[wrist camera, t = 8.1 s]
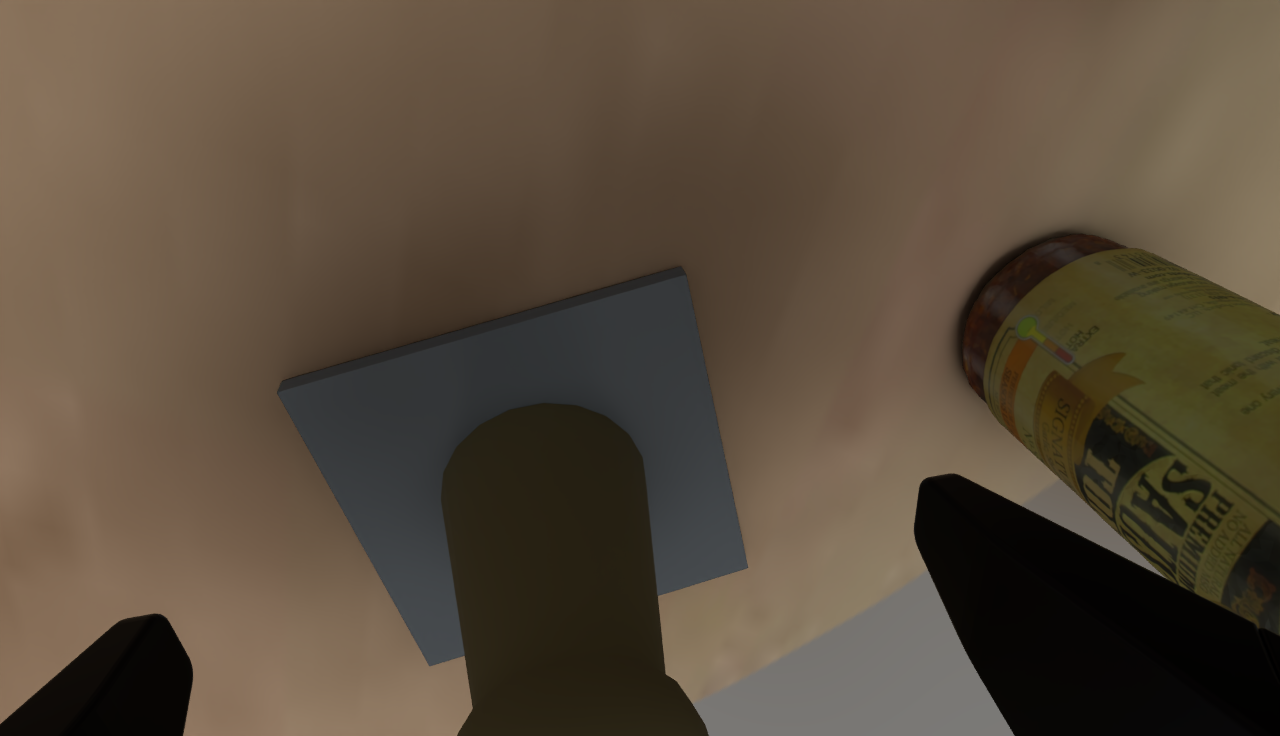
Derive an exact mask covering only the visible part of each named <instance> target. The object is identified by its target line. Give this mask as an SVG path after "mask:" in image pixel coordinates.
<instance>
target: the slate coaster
mask: <svg viewBox="0 0 1280 736" xmlns="http://www.w3.org/2000/svg"><path fill="white" fill-rule="evenodd" d="M277 394H278V395H279V397H280V399H281V401H282V403H283V404H284V406H285V408H286V410H287V412H288V413H289V415H290V417H291V419H292V421H293V422H294V424H295V426H296V428H297V429H298V431H299V433H300V435H301V437H302V438H303V440H304V442H305V444H306V446H307V447H308V449H309V451H310V453H311V455H312V456H313V458H314V460H315V462H316V464H317V465H318V467H319V469H320V471H321V473H322V474H323V476H324V478H325V480H326V481H327V483H328V485H329V487H330V489H331V490H332V492H333V494H334V496H335V498H336V499H337V501H338V503H339V505H340V507H341V508H342V510H343V512H344V514H345V516H346V517H347V519H348V521H349V523H350V525H351V526H352V528H353V530H354V532H355V533H356V535H357V537H358V539H359V541H360V542H361V544H362V546H363V548H364V550H365V551H366V553H367V555H368V557H369V559H370V560H371V562H372V564H373V566H374V568H375V569H376V571H377V573H378V575H379V577H380V578H381V580H382V582H383V584H384V585H385V587H386V589H387V591H388V593H389V594H390V596H391V598H392V600H393V602H394V603H395V605H396V607H397V609H398V611H399V612H400V614H401V616H402V618H403V620H404V621H405V623H406V625H407V627H408V629H409V630H410V632H411V634H412V636H413V637H414V639H415V641H416V643H417V645H418V646H419V648H420V650H421V652H422V654H423V655H424V657H425V659H426V661H427V663H428V664H429V666H432V665H435V664H439V663H442V662H445V661H448V660H452V659H455V658H458V657H461V656H465V654H464V647H463V641H462V634H461V628H460V621H459V615H458V608H457V602H456V595H455V589H454V582H453V576H452V569H451V563H450V556H449V550H448V543H447V537H446V530H445V524H444V517H443V511H442V504H441V491H442V480H443V472H444V470H445V468H446V466H447V464H448V462H449V460H450V458H451V456H452V454H453V453H454V451H455V449H456V447H457V446H458V445H459V444H460V443H461V442H462V441H463V440H464V439H465V438H466V437H467V436H468V435H469V434H470V433H471V432H473V431H474V430H475V429H476V428H477V427H478V426H479V425H480V424H482V423H484V422H486V421H488V420H490V419H492V418H494V417H496V416H498V415H500V414H502V413H504V412H506V411H508V410H511V409H516V408H521V407H526V406H531V405H536V404H541V403H550V404H565V405H577V406H580V407H583V408H585V409H588V410H591V411H594V412H596V413H599V414H602V415H604V416H607V417H608V418H609V419H611V420H612V421H613V422H614V423H616V424H617V425H618V426H619V427H621V428H622V429H623V430H624V431H626V432H627V433H628V434H629V435H630V437H631V438H632V440H633V442H634V443H635V445H636V447H637V448H638V450H639V452H640V454H641V455H642V457H643V464H644V470H645V477H646V485H647V495H648V505H649V515H650V525H651V535H652V545H653V555H654V565H655V575H656V584H657V594H658V596H659V595H662V594H666V593H669V592H672V591H675V590H679V589H682V588H685V587H688V586H691V585H695V584H698V583H701V582H704V581H708V580H711V579H714V578H717V577H721V576H724V575H727V574H730V573H734V572H737V571H740V570H743V569H747V568H748V564H747V560H746V555H745V550H744V545H743V541H742V536H741V531H740V527H739V522H738V517H737V512H736V508H735V503H734V498H733V493H732V489H731V484H730V479H729V474H728V470H727V465H726V460H725V456H724V451H723V446H722V441H721V437H720V432H719V427H718V422H717V418H716V413H715V408H714V403H713V399H712V394H711V389H710V385H709V380H708V375H707V370H706V366H705V361H704V356H703V351H702V347H701V342H700V337H699V332H698V328H697V323H696V318H695V313H694V309H693V304H692V299H691V295H690V290H689V285H688V280H687V276H686V273H685V272H684V270H683V269H682V267H681V266H680V267H677V268H673V269H670V270H666V271H663V272H659V273H656V274H652V275H649V276H645V277H642V278H638V279H635V280H632V281H628V282H625V283H621V284H618V285H614V286H611V287H607V288H604V289H600V290H597V291H593V292H590V293H586V294H583V295H579V296H576V297H572V298H569V299H565V300H562V301H558V302H555V303H552V304H548V305H545V306H541V307H538V308H534V309H531V310H527V311H524V312H520V313H517V314H513V315H510V316H506V317H503V318H499V319H496V320H492V321H489V322H485V323H482V324H479V325H475V326H472V327H468V328H465V329H461V330H458V331H454V332H451V333H447V334H444V335H440V336H437V337H433V338H430V339H426V340H423V341H419V342H416V343H412V344H409V345H405V346H402V347H399V348H395V349H392V350H388V351H385V352H381V353H378V354H374V355H371V356H367V357H364V358H360V359H357V360H353V361H350V362H346V363H343V364H339V365H336V366H332V367H329V368H326V369H322V370H319V371H315V372H312V373H308V374H305V375H301V376H298V377H294V378H291V379H287V380H284V381H282V382H281V384H280V387H279V389H278V391H277Z"/></svg>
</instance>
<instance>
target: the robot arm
mask: <svg viewBox="0 0 1280 736" xmlns="http://www.w3.org/2000/svg"><path fill="white" fill-rule="evenodd" d="M914 535H915V540H916V544H917V547H918V549H919V551H920V553H921V556H922V558H923V560H924V562H925V564H926V567H927V569H928V571H929V573H930V575H931V578H932V580H933V582H934V584H935V586H936V589H937V591H938V593H939V595H940V597H941V599H942V602H943V604H944V606H945V608H946V611H947V613H948V615H949V617H950V619H951V621H952V624H953V626H954V628H955V630H956V632H957V635H958V637H959V639H960V641H961V643H962V645H963V647H964V649H965V651H966V653H967V655H968V657H969V659H970V660H971V662H972V664H973V665H974V668H975V669H976V671H977V673H978V674H979V676H980V678H981V680H982V681H983V683H984V685H985V686H986V688H987V690H988V691H989V693H990V695H991V697H992V698H993V700H994V702H995V703H996V705H997V707H998V708H999V710H1000V712H1001V713H1002V715H1003V717H1004V719H1005V720H1006V722H1007V724H1008V725H1009V727H1010V729H1011V730H1012V732H1013V734H1014V735H1015V736H1280V635H1278V634H1276V633H1274V632H1272V631H1270V630H1268V629H1266V628H1259V629H1258V628H1257V626H1256V624H1255V623H1253V622H1252V621H1250V620H1248V619H1246V618H1244V617H1242V616H1240V615H1238V614H1236V613H1234V612H1232V611H1230V610H1228V609H1226V608H1224V607H1222V606H1220V605H1218V604H1216V603H1214V602H1212V601H1210V600H1208V599H1206V598H1204V597H1202V596H1200V595H1198V594H1196V593H1194V592H1192V591H1190V590H1188V589H1186V588H1184V587H1182V586H1180V585H1178V584H1176V583H1174V582H1172V581H1170V580H1168V579H1166V578H1164V577H1162V576H1160V575H1158V574H1156V573H1154V572H1152V571H1150V570H1148V569H1146V568H1144V567H1142V566H1140V565H1138V564H1136V563H1134V562H1132V561H1130V560H1128V559H1126V558H1124V557H1122V556H1120V555H1118V554H1116V553H1114V552H1112V551H1110V550H1108V549H1106V548H1104V547H1102V546H1100V545H1098V544H1096V543H1094V542H1092V541H1090V540H1088V539H1086V538H1084V537H1082V536H1080V535H1078V534H1076V533H1074V532H1072V531H1070V530H1068V529H1066V528H1064V527H1062V526H1060V525H1058V524H1056V523H1054V522H1052V521H1050V520H1048V519H1046V518H1044V517H1042V516H1040V515H1038V514H1036V513H1034V512H1032V511H1030V510H1028V509H1026V508H1024V507H1022V506H1020V505H1018V504H1016V503H1014V502H1012V501H1010V500H1008V499H1006V498H1004V497H1002V496H1000V495H998V494H996V493H994V492H992V491H990V490H988V489H986V488H984V487H982V486H980V485H978V484H976V483H974V482H972V481H970V480H968V479H966V478H964V477H962V476H960V475H958V474H944V475H939V476H933V477H928V478H926V479H924V480H923V481H922V482H921V484H920V487H919V493H918V501H917V508H916V516H915V523H914ZM192 682H193V669H192V664H191V661H190V659H189V657H188V655H187V653H186V651H185V649H184V648H183V646H182V644H181V642H180V640H179V639H178V637H177V635H176V633H175V631H174V630H173V628H172V626H171V624H170V622H169V621H168V619H167V618H166V617H164V616H163V615H161V614H149V615H143V616H137V617H132V618H127V619H124V620H121V621H119V622H117V623H116V624H115V625H114V626H112V627H111V628H110V629H109V630H108V631H107V632H105V633H104V634H103V635H102V636H101V637H100V638H99V639H97V640H96V641H95V642H94V643H93V644H92V645H90V646H89V647H88V648H87V649H86V650H85V651H84V652H82V653H81V654H80V655H79V656H78V657H77V658H76V659H74V660H73V661H72V662H71V663H70V664H69V665H68V666H66V667H65V668H64V669H63V670H62V671H61V672H60V673H58V674H57V675H56V676H55V677H54V678H53V679H51V680H50V681H49V682H48V683H47V684H46V685H45V686H43V687H42V688H41V689H40V690H39V691H38V692H37V693H35V694H34V695H33V696H32V697H31V698H30V699H29V700H27V701H26V702H25V703H24V704H23V705H22V706H21V707H19V708H18V709H17V710H16V711H15V712H14V713H12V714H11V715H10V716H9V717H8V718H7V719H6V720H4V721H3V722H2V723H1V724H0V736H183V733H184V728H185V722H186V717H187V711H188V705H189V700H190V694H191V689H192Z"/></svg>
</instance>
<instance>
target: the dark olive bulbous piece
mask: <svg viewBox="0 0 1280 736" xmlns="http://www.w3.org/2000/svg"><path fill="white" fill-rule="evenodd" d="M441 504H442V511H443V517H444V524H445V530H446V537H447V543H448V550H449V556H450V563H451V569H452V576H453V582H454V589H455V595H456V602H457V608H458V615H459V621H460V628H461V634H462V641H463V647H464V654H465V660H466V667H467V673H468V680H469V686H470V693H471V699H472V706H473V710H472V712H471V713H470V715H469V716H468V718H467V720H466V721H465V723H464V724H463V726H462V728H461V729H460V731H459V733H458V735H457V736H709V735H708V732H707V729H706V726H705V724H704V722H703V720H702V719H701V717H700V716H699V714H698V712H697V711H696V709H695V707H694V706H693V704H692V703H691V701H690V700H689V698H688V697H687V695H686V694H685V693H684V691H683V690H682V688H681V687H680V686H679V684H678V683H677V681H675V680H674V679H672V678H671V677H669V676H667V675H666V674H665V664H664V654H663V644H662V634H661V624H660V614H659V604H658V594H657V584H656V575H655V565H654V555H653V545H652V535H651V525H650V515H649V505H648V495H647V485H646V477H645V470H644V464H643V457H642V455H641V454H640V452H639V450H638V448H637V447H636V445H635V443H634V442H633V440H632V438H631V437H630V435H629V434H628V433H627V432H626V431H624V430H623V429H622V428H621V427H619V426H618V425H617V424H616V423H614V422H613V421H612V420H611V419H609V418H608V417H607V416H604V415H602V414H599V413H596V412H594V411H591V410H588V409H585V408H583V407H580V406H577V405H565V404H550V403H541V404H536V405H531V406H526V407H521V408H516V409H511V410H508V411H506V412H504V413H502V414H500V415H498V416H496V417H494V418H492V419H490V420H488V421H486V422H484V423H482V424H480V425H479V426H478V427H477V428H476V429H475V430H474V431H473V432H471V433H470V434H469V435H468V436H467V437H466V438H465V439H464V440H463V441H462V442H461V443H460V444H459V445H458V446H457V447H456V449H455V451H454V453H453V454H452V456H451V458H450V460H449V462H448V464H447V466H446V468H445V470H444V472H443V480H442V491H441Z"/></svg>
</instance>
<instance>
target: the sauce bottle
mask: <svg viewBox="0 0 1280 736" xmlns="http://www.w3.org/2000/svg"><path fill="white" fill-rule="evenodd" d="M962 343H963V347H962V356H963V369H964V370H965V372H966V374H967V376H968V380H969V384H970V386H971V387H972V388H973V389H974V390H975V392H976V393H977V394H978V395H979V396H980V397H981V399H983V400H984V401H985V402H986V403H987V405H988V407H989V409H990V410H991V412H992V414H993V415H994V416H995V418H996V419H997V420H998V421H999V423H1000V424H1001V425H1003V426H1004V427H1005V428H1006V429H1007V430H1008V431H1009V432H1010V433H1011V434H1012V435H1013V436H1015V437H1016V438H1017V439H1018V440H1019V441H1020V442H1021V443H1022V444H1023V445H1024V446H1025V447H1026V448H1027V449H1029V450H1030V451H1031V452H1032V453H1033V454H1034V455H1035V456H1036V457H1037V458H1038V459H1039V460H1040V461H1041V462H1043V463H1044V464H1045V465H1046V466H1047V467H1048V468H1049V469H1050V470H1051V471H1052V472H1053V473H1054V474H1055V475H1057V476H1058V477H1059V478H1060V479H1061V480H1062V481H1063V482H1064V483H1065V484H1066V485H1067V486H1069V487H1070V488H1071V489H1072V490H1073V491H1074V492H1075V493H1076V494H1077V495H1078V496H1079V497H1080V498H1081V499H1083V500H1084V501H1085V502H1086V503H1087V504H1088V505H1089V506H1090V507H1091V508H1092V509H1093V510H1094V511H1095V512H1096V513H1097V514H1098V515H1099V516H1100V517H1101V518H1102V519H1103V520H1104V521H1105V522H1106V523H1108V524H1109V525H1110V526H1111V527H1112V528H1113V529H1114V530H1115V531H1116V532H1117V533H1118V534H1119V535H1120V536H1122V537H1123V538H1124V539H1125V540H1126V541H1127V542H1129V544H1130V545H1132V546H1133V547H1134V548H1135V549H1136V550H1137V551H1138V552H1139V553H1140V554H1141V555H1142V556H1143V557H1144V558H1145V559H1146V560H1147V561H1149V563H1150V564H1151V565H1152V566H1153V567H1155V568H1156V569H1157V570H1158V571H1159V572H1160V573H1161V574H1162V575H1163V576H1164V577H1166V578H1167V579H1168V580H1170V581H1172V582H1174V583H1176V584H1178V585H1180V586H1182V587H1184V588H1186V589H1188V590H1190V591H1192V592H1194V593H1196V594H1198V595H1200V596H1202V597H1204V598H1206V599H1208V600H1210V601H1212V602H1214V603H1216V604H1218V605H1220V606H1222V607H1224V608H1226V609H1228V610H1230V611H1232V612H1234V613H1236V614H1238V615H1240V616H1242V617H1244V618H1246V619H1248V620H1250V621H1252V622H1253V623H1255V624H1256V626H1257V628H1258V629H1259V628H1266V629H1268V630H1270V631H1272V632H1274V633H1276V634H1278V635H1280V315H1279V314H1277V313H1275V312H1273V311H1270V310H1268V309H1266V308H1264V307H1262V306H1260V305H1258V304H1256V303H1254V302H1252V301H1250V300H1248V299H1246V298H1244V297H1242V296H1240V295H1238V294H1236V293H1234V292H1232V291H1230V290H1228V289H1226V288H1224V287H1222V286H1219V285H1217V284H1215V283H1213V282H1211V281H1209V280H1207V279H1205V278H1203V277H1201V276H1199V275H1197V274H1195V273H1193V272H1191V271H1188V270H1186V269H1184V268H1182V267H1180V266H1178V265H1176V264H1173V263H1171V262H1169V261H1167V260H1165V259H1163V258H1161V257H1159V256H1157V255H1155V254H1153V253H1150V252H1147V251H1145V250H1142V249H1137V248H1127V247H1126V246H1123V245H1120V244H1118V243H1116V242H1114V241H1111V240H1108V239H1103V238H1100V237H1097V236H1093V235H1085V234H1079V235H1076V234H1073V235H1068V236H1065V237H1057V238H1051V239H1049V240H1047V241H1045V242H1043V243H1041V244H1040V245H1036V246H1034V247H1033V248H1029V249H1027V250H1026V251H1025V252H1024V253H1023V254H1021V255H1020V256H1018V257H1017V258H1016V259H1014V260H1013V261H1011V262H1010V263H1008V264H1007V265H1006V266H1005V267H1004V268H1003V269H1002V270H1001V271H1000V272H998V273H997V274H996V275H995V276H994V277H993V278H992V279H991V280H990V281H989V282H988V283H987V284H986V285H985V287H984V288H983V290H982V291H981V293H980V295H979V297H978V299H977V300H976V301H975V302H974V306H973V308H972V310H971V312H970V315H969V317H968V318H967V322H966V326H965V332H964V339H963V342H962Z"/></svg>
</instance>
